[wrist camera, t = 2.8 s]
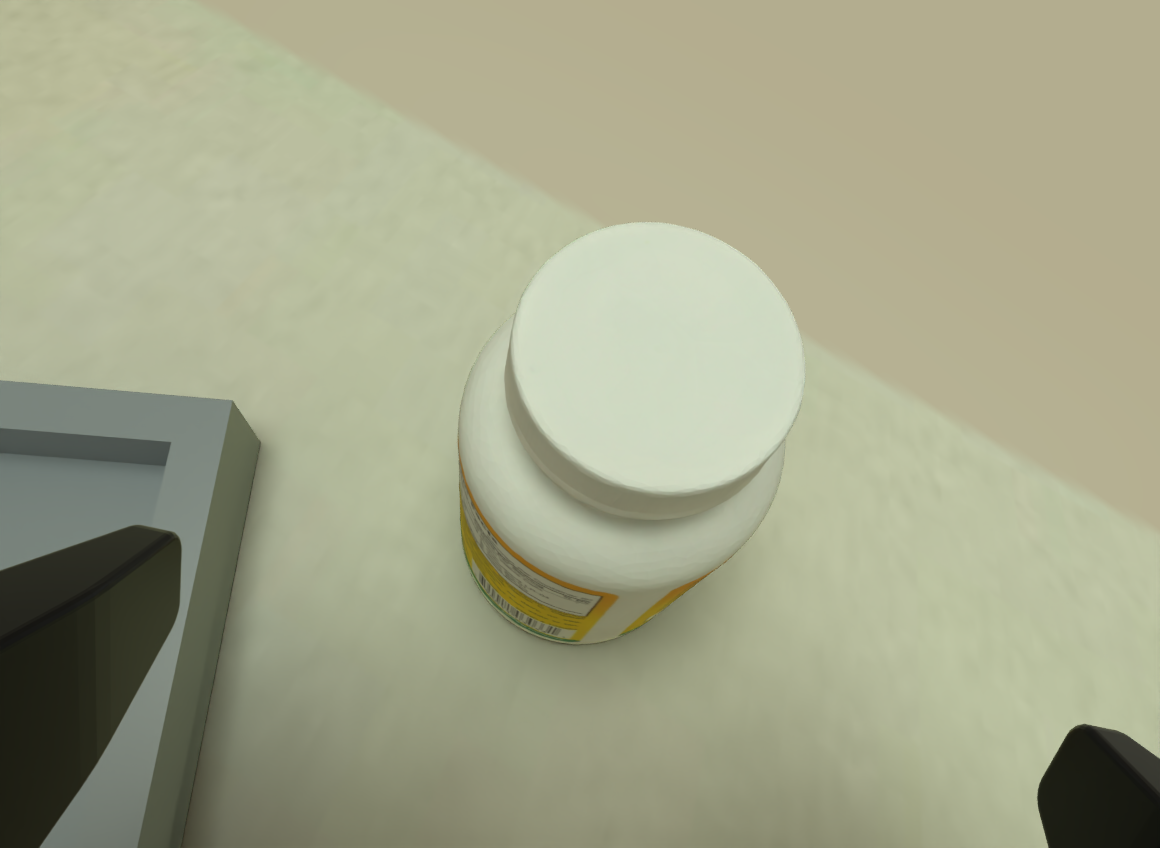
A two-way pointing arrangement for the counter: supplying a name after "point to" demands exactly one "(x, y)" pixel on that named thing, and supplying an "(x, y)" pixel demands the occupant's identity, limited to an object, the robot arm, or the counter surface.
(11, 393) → the tray
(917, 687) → the counter surface
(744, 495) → the supplement bottle
